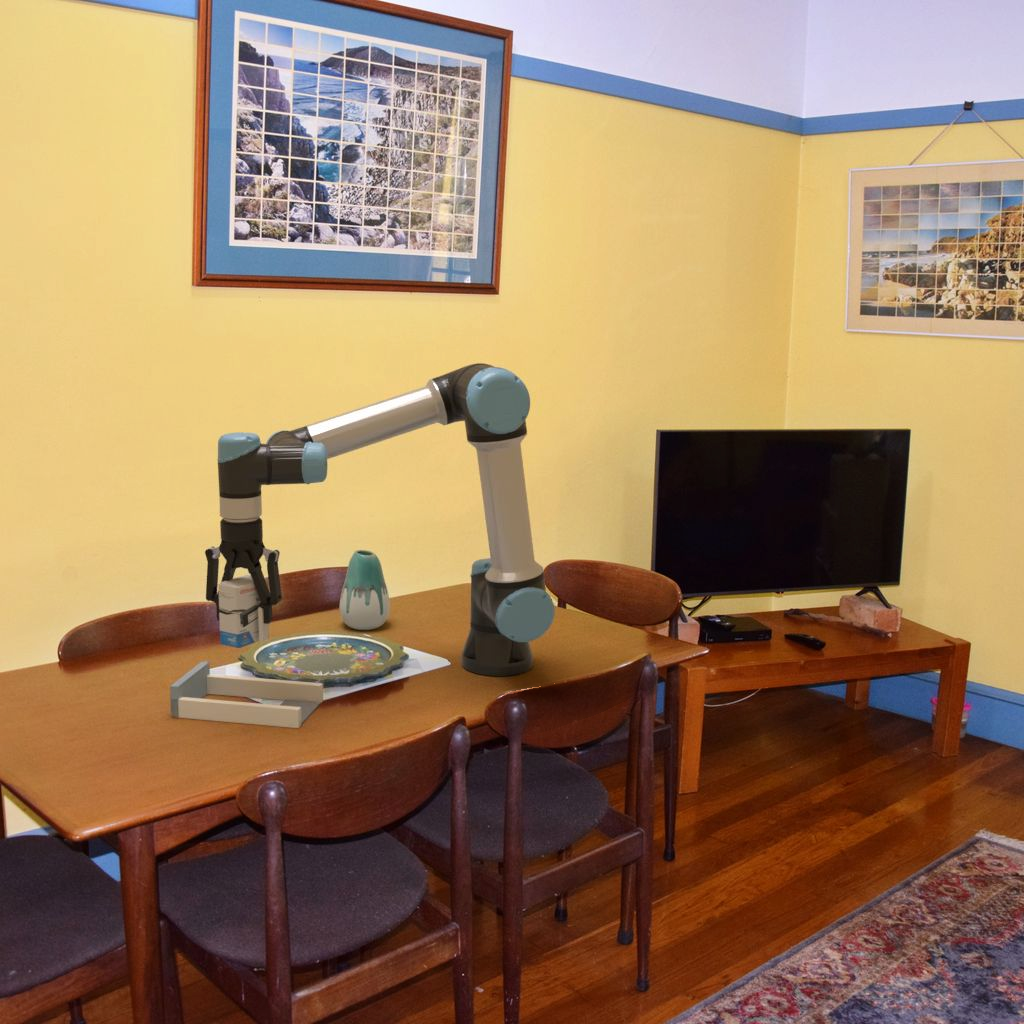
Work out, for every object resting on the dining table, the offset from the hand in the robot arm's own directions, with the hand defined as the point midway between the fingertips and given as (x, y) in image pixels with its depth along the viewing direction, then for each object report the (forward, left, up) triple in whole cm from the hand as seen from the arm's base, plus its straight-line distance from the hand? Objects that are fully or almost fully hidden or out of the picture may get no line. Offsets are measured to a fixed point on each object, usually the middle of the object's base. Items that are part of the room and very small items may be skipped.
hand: (245, 638), depth 225 cm
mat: (-9, 0, -14) cm, 17 cm away
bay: (-1, 0, -14) cm, 14 cm away
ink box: (0, 0, -1) cm, 1 cm away
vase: (-7, -56, -14) cm, 58 cm away
